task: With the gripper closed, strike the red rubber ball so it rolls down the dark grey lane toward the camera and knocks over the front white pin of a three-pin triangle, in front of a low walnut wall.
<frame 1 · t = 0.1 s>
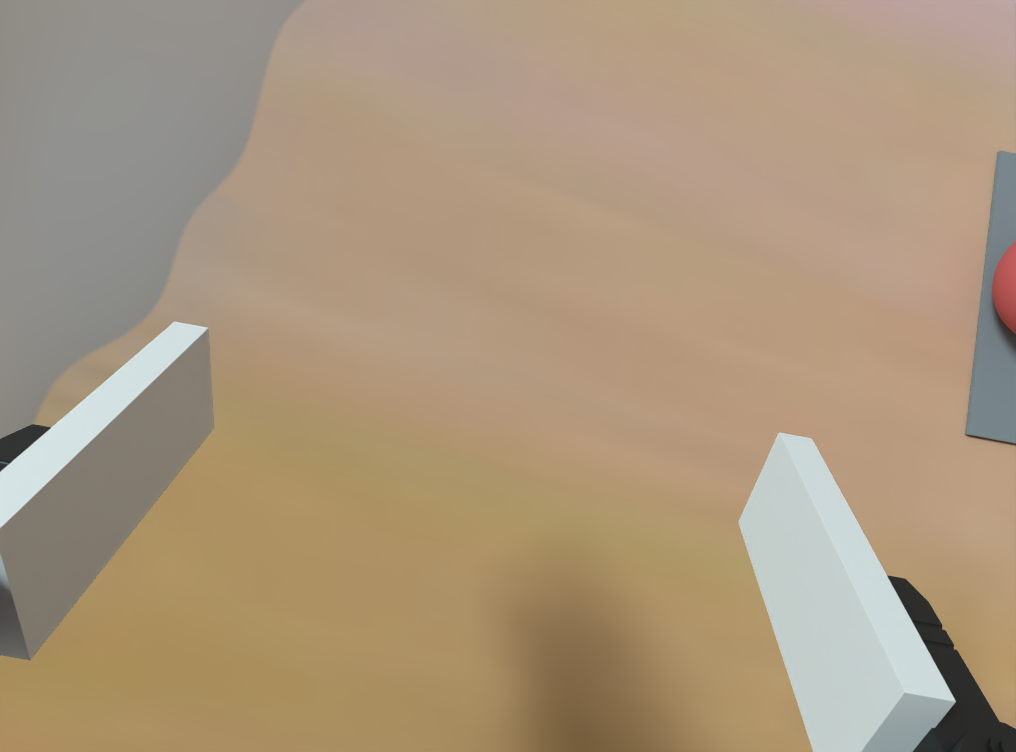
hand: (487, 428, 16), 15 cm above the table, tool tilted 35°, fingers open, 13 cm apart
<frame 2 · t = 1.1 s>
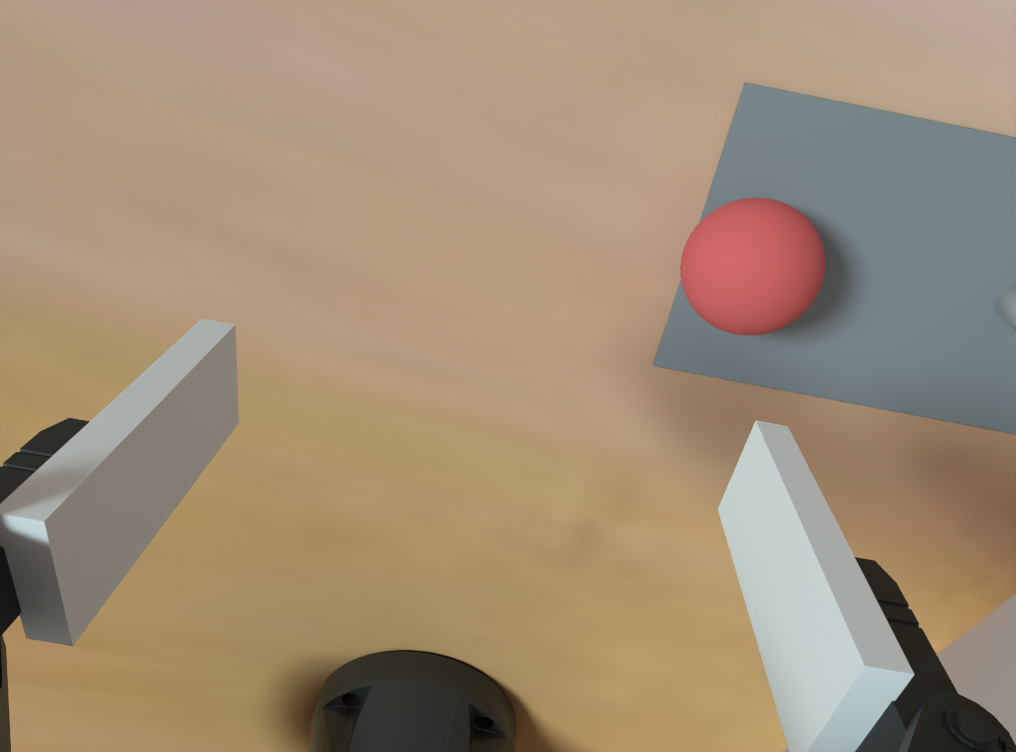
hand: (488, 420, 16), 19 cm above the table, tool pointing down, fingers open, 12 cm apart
lane: (955, 289, 33), on the table
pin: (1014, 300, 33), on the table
ball: (750, 267, 30), on the table
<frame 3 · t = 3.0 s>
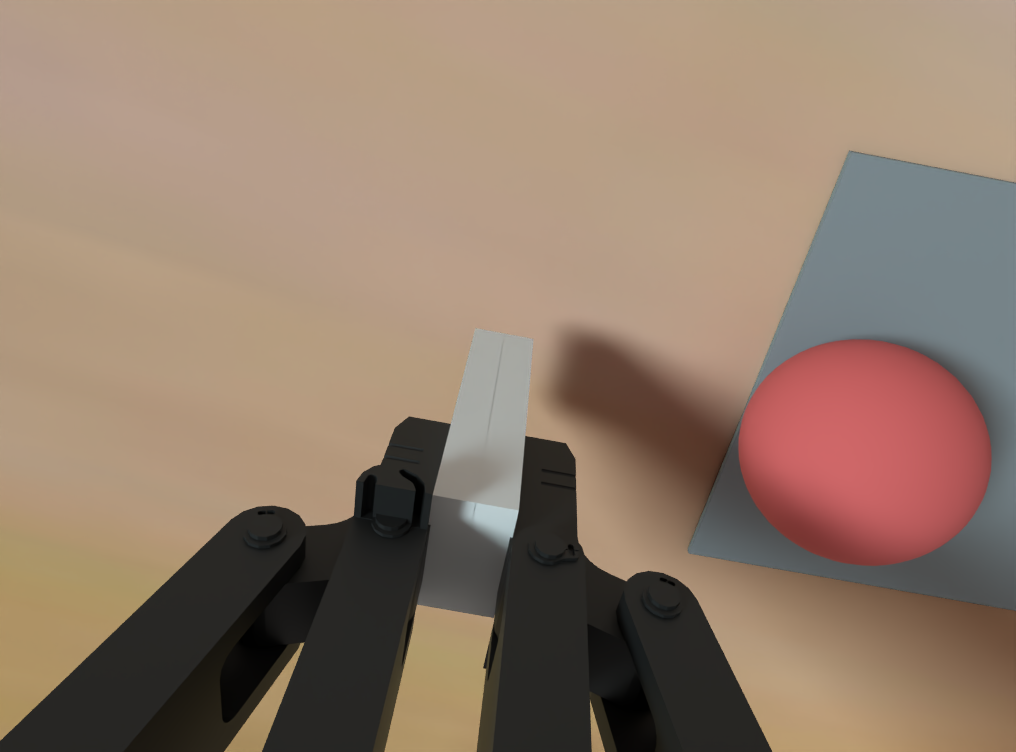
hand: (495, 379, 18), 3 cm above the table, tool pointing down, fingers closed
ball: (855, 450, 18), on the table
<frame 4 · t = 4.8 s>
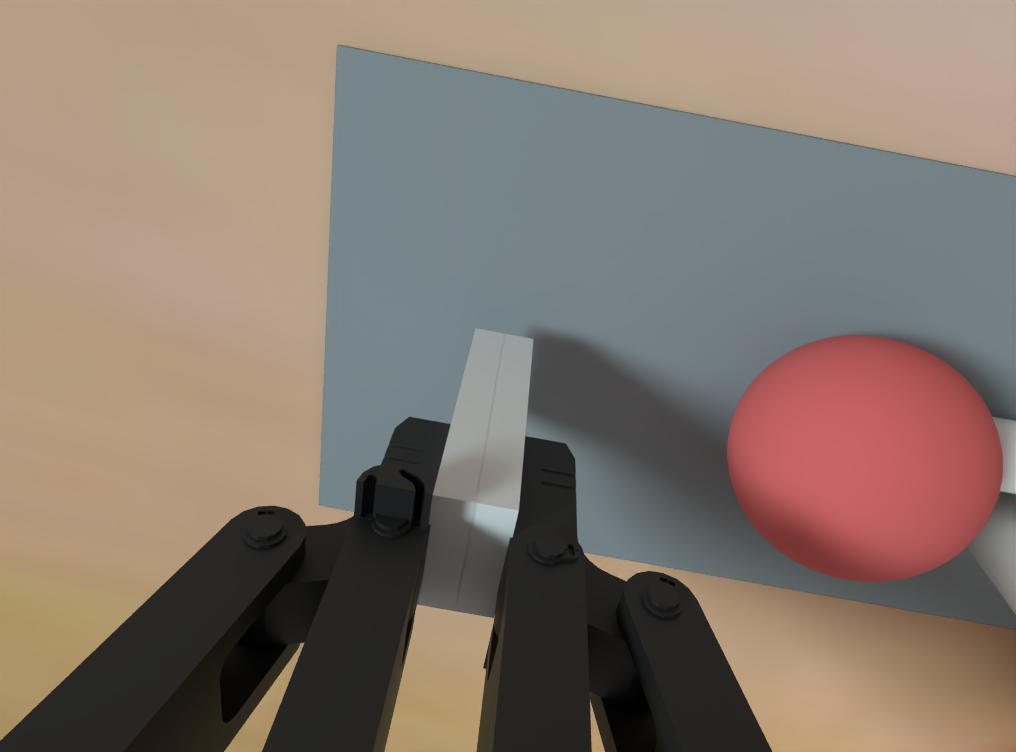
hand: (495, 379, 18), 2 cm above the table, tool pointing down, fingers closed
lane: (774, 396, 20), on the table
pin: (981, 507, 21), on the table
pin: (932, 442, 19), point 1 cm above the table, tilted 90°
ball: (853, 455, 17), on the table
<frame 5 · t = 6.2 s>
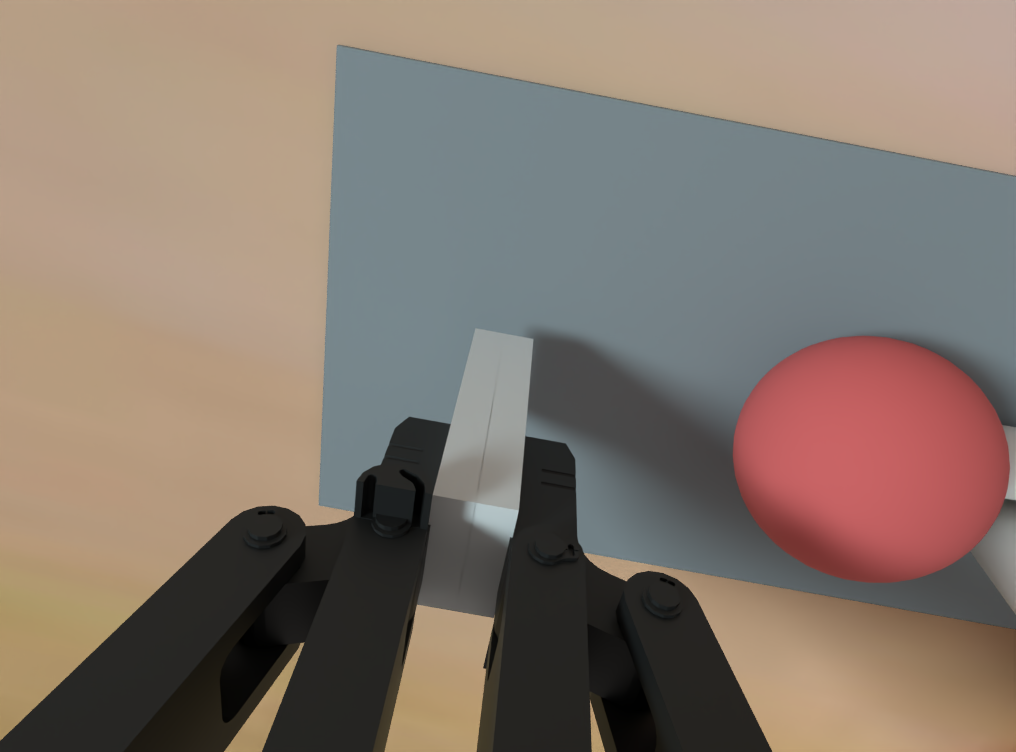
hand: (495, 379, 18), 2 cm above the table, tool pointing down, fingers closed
lane: (774, 396, 20), on the table
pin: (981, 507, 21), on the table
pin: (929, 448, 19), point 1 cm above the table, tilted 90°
ball: (859, 456, 17), on the table
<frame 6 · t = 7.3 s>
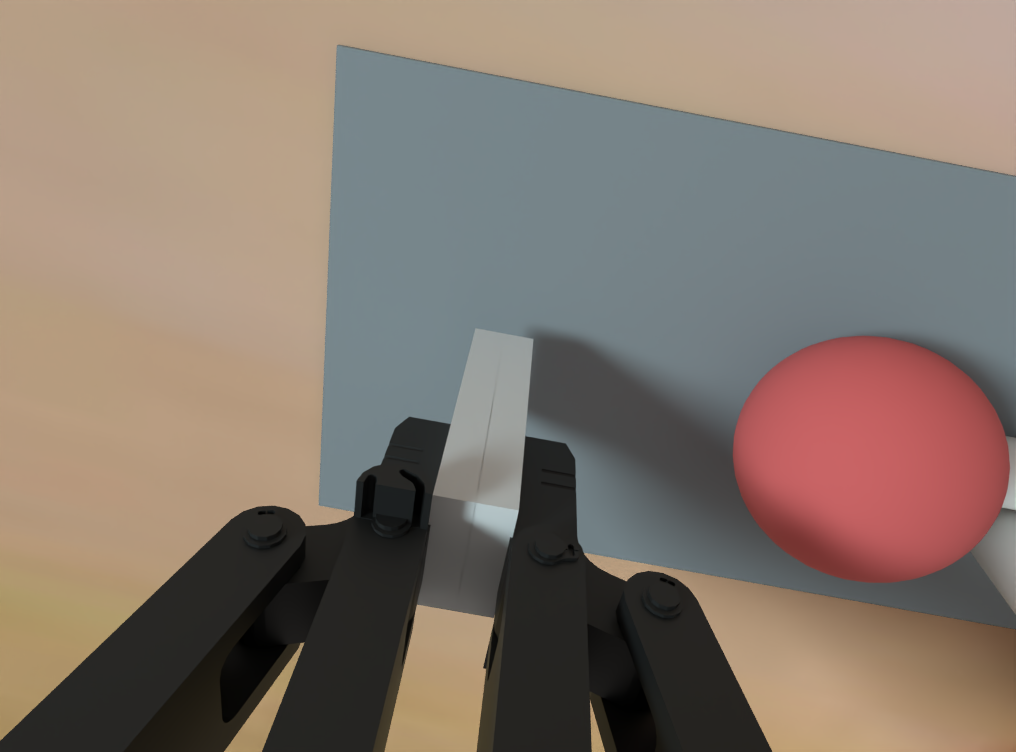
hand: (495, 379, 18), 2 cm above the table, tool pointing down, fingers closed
lane: (774, 396, 20), on the table
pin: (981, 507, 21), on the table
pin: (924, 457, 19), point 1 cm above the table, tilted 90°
ball: (859, 456, 17), on the table
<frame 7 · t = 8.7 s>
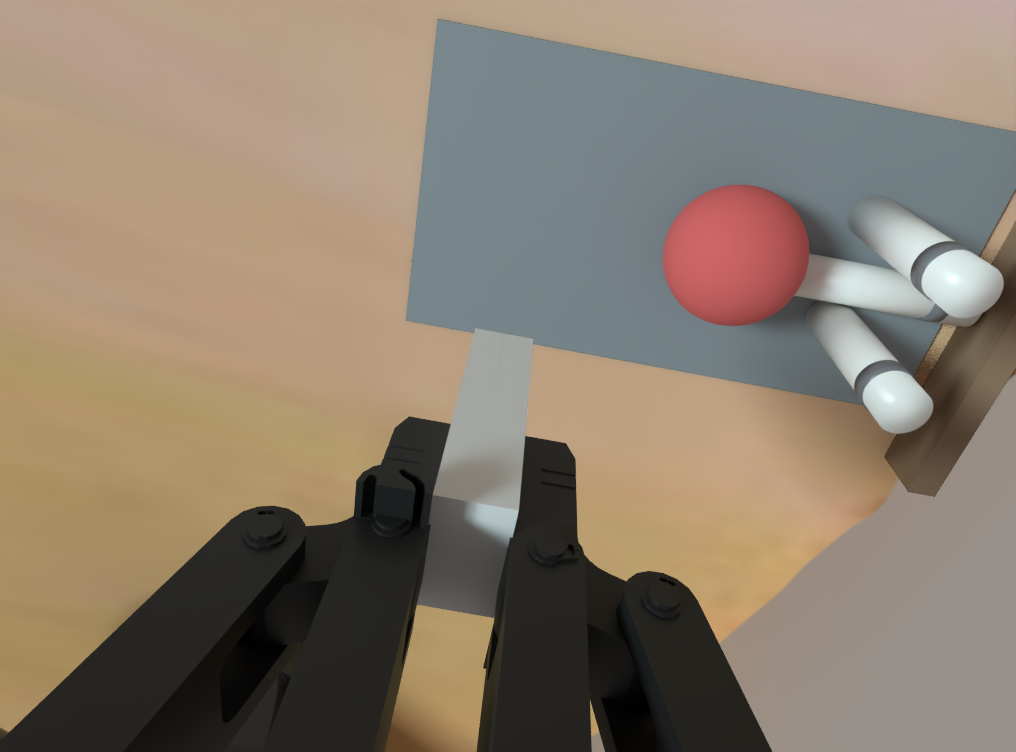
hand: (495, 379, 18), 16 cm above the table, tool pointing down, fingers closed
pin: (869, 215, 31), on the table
lane: (692, 236, 32), on the table
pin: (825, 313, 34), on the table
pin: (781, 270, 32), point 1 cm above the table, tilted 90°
ball: (733, 256, 30), on the table
stopper wall: (991, 293, 33), on the table
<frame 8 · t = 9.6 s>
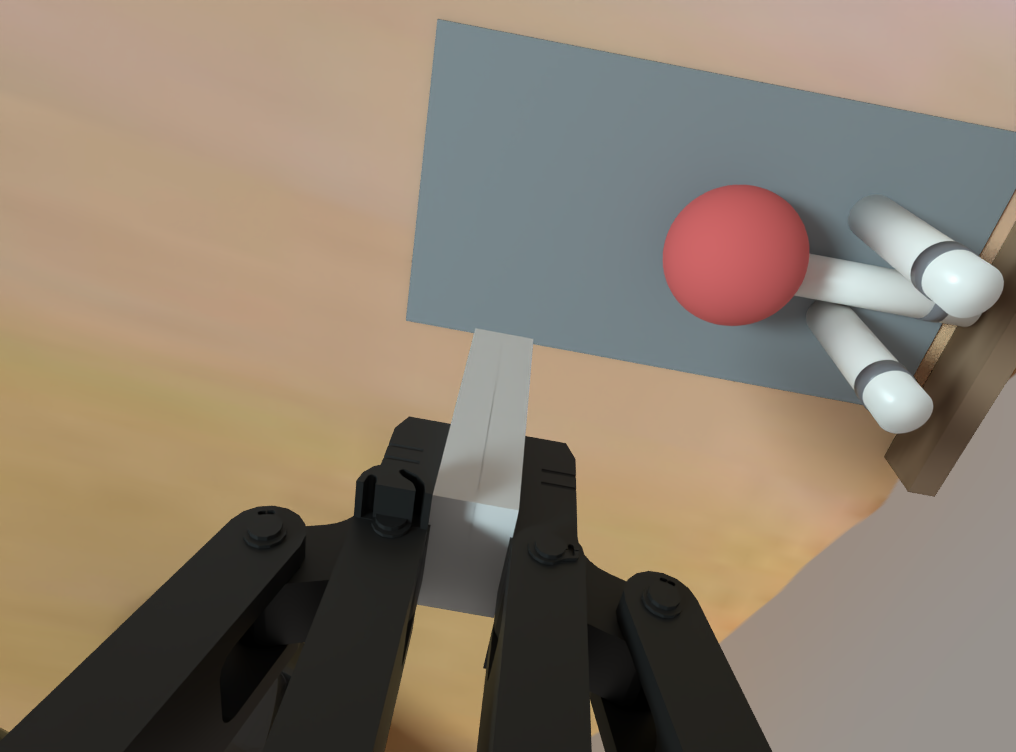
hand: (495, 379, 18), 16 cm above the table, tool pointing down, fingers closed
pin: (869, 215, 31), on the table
lane: (692, 236, 32), on the table
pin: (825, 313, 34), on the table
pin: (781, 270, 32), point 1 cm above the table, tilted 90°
ball: (733, 256, 30), on the table
stopper wall: (991, 293, 33), on the table
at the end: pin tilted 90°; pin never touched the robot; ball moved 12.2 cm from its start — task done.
